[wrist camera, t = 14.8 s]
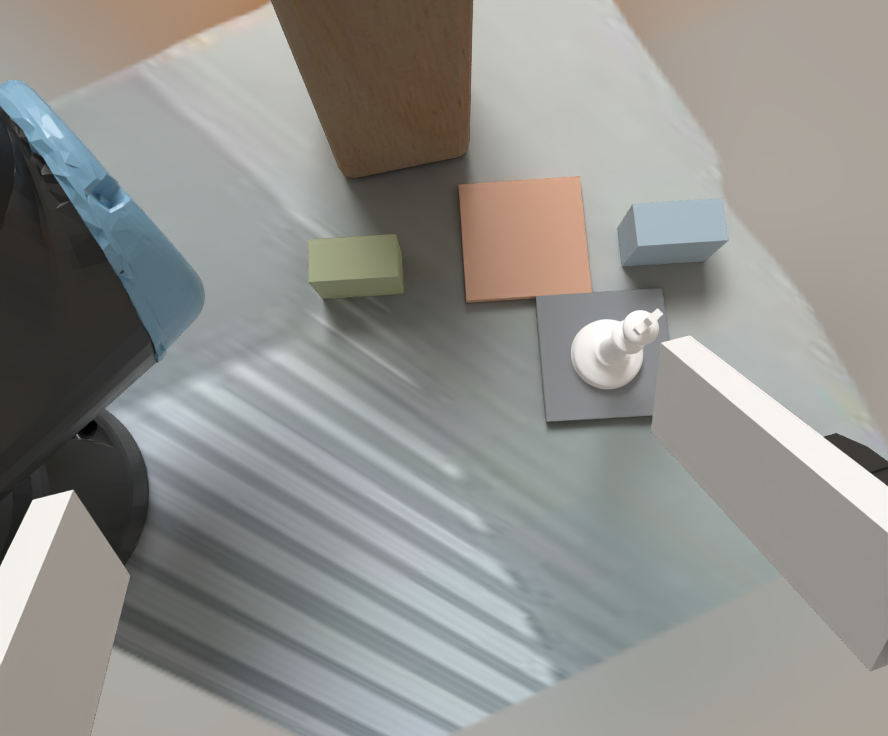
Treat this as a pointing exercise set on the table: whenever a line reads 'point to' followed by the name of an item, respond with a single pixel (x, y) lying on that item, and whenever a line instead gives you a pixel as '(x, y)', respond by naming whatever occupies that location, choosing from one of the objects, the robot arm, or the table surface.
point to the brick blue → (672, 232)
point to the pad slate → (559, 378)
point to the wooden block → (385, 77)
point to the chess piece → (613, 348)
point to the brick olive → (356, 266)
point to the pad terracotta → (523, 239)
